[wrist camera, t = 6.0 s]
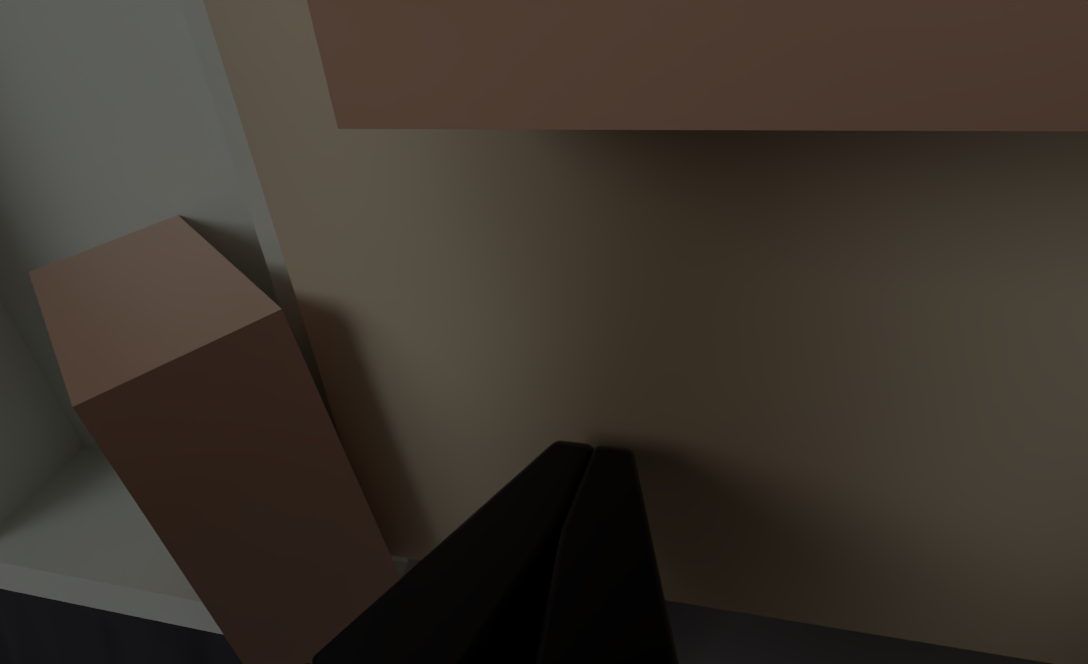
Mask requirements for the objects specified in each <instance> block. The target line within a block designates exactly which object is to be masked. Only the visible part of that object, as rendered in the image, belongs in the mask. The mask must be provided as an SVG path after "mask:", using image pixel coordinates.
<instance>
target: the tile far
mask: <svg viewBox="0 0 1088 664" xmlns="http://www.w3.org/2000/svg"><path fill="white" fill-rule="evenodd" d="M29 275H30V278H31V281H32V284H33V287H34V290H35V293H36V296H37V299H38V302H39V305H40V309H41V312H42V315H43V318H44V321H45V324H46V327H47V330H48V333H49V336H50V339H51V342H52V346H53V349H54V352H55V355H56V358H57V361H58V364H59V367H60V370H61V373H62V376H63V379H64V383H65V386H66V389H67V392H68V395H69V398H70V401H71V404H72V407H73V409H74V410H75V412H76V413H77V415H78V416H79V418H80V419H81V421H82V422H83V424H84V425H85V427H86V428H87V430H88V431H89V433H90V434H91V436H92V437H93V439H94V440H95V442H96V443H97V445H98V446H99V448H100V449H101V451H102V452H103V454H104V455H105V457H106V458H107V460H108V461H109V463H110V464H111V466H112V467H113V469H114V470H115V472H116V473H117V475H118V476H119V478H120V479H121V481H122V482H123V484H124V485H125V487H126V488H127V490H128V491H129V493H130V494H131V496H132V497H133V499H134V500H135V502H136V503H137V505H138V506H139V508H140V509H141V511H142V512H143V514H144V515H145V517H146V518H147V520H148V521H149V523H150V524H151V526H152V527H153V529H154V530H155V532H156V533H157V535H158V536H159V538H160V540H161V541H162V543H163V544H164V546H165V547H166V549H167V550H168V552H169V553H170V555H171V556H172V558H173V559H174V561H175V562H176V564H177V565H178V567H179V568H180V570H181V571H182V573H183V574H184V576H185V577H186V579H187V580H188V582H189V583H190V585H191V586H192V588H193V589H194V591H195V592H196V594H197V595H198V597H199V598H200V600H201V601H202V603H203V604H204V606H205V607H206V609H207V610H208V612H209V613H210V615H211V616H212V618H213V619H214V621H215V622H216V624H217V625H218V627H219V628H220V630H221V631H222V633H223V634H224V636H225V637H226V639H227V640H228V642H229V643H230V645H231V646H232V648H233V649H234V651H235V652H236V654H237V655H238V657H239V658H240V660H241V661H242V663H243V664H305V663H310V664H312V658H313V656H314V655H315V654H317V653H318V652H319V651H320V650H321V649H322V648H323V647H324V646H325V645H327V644H328V643H329V642H330V641H331V640H332V639H333V638H334V637H336V636H337V635H338V634H339V633H340V632H341V631H342V630H343V629H345V628H346V627H347V626H348V625H349V624H350V623H351V622H352V621H354V620H355V619H356V618H357V617H358V616H359V615H360V614H361V613H362V612H364V611H365V610H366V609H367V608H368V607H369V606H370V605H371V604H373V603H374V602H375V601H376V600H377V599H378V598H379V597H380V596H382V595H383V594H384V593H385V592H386V591H387V590H388V589H389V588H391V587H392V586H393V585H394V584H395V583H396V582H397V581H398V580H400V579H401V578H400V576H399V573H398V571H397V569H396V567H395V564H394V562H393V560H392V558H391V555H390V553H389V551H388V549H387V546H386V544H385V542H384V539H383V537H382V535H381V533H380V530H379V528H378V526H377V524H376V521H375V519H374V517H373V514H372V512H371V510H370V508H369V505H368V503H367V501H366V499H365V496H364V494H363V492H362V490H361V487H360V485H359V483H358V480H357V478H356V476H355V474H354V471H353V469H352V467H351V465H350V462H349V460H348V458H347V455H346V453H345V451H344V449H343V446H342V444H341V442H340V440H339V437H338V435H337V433H336V431H335V428H334V426H333V424H332V421H331V419H330V417H329V415H328V412H327V410H326V408H325V406H324V403H323V401H322V399H321V396H320V394H319V392H318V390H317V387H316V385H315V383H314V381H313V378H312V376H311V374H310V371H309V369H308V367H307V365H306V362H305V360H304V358H303V356H302V353H301V351H300V349H299V347H298V344H297V342H296V340H295V337H294V335H293V333H292V331H291V328H290V326H289V324H288V322H287V319H286V317H285V315H284V312H283V310H282V309H281V308H280V307H279V306H278V305H277V304H276V303H275V302H274V301H273V300H271V299H270V298H269V297H268V296H267V295H266V294H265V293H264V292H263V291H262V290H260V289H259V288H258V287H257V286H256V285H255V284H254V283H253V282H252V281H250V280H249V279H248V278H247V277H246V276H245V275H244V274H243V273H242V272H240V271H239V270H238V269H237V268H236V267H235V266H234V265H233V264H232V263H231V262H229V261H228V260H227V259H226V258H225V257H224V256H223V255H222V254H221V253H219V252H218V251H217V250H216V249H215V248H214V247H213V246H212V245H211V244H209V243H208V242H207V241H206V240H205V239H204V238H203V237H202V236H201V235H200V234H198V233H197V232H196V231H195V230H194V229H193V228H192V227H191V226H190V225H188V224H187V223H186V222H185V221H184V220H183V219H182V218H181V217H180V216H178V215H176V216H173V217H171V218H168V219H166V220H163V221H161V222H158V223H155V224H153V225H150V226H148V227H145V228H142V229H140V230H137V231H135V232H132V233H129V234H127V235H124V236H122V237H119V238H117V239H114V240H111V241H109V242H106V243H104V244H101V245H98V246H96V247H93V248H91V249H88V250H85V251H83V252H80V253H78V254H75V255H72V256H70V257H67V258H65V259H62V260H60V261H57V262H54V263H52V264H49V265H47V266H44V267H41V268H39V269H36V270H34V271H31V272H29Z"/></svg>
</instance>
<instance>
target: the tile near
mask: <svg viewBox="0 0 1088 664" xmlns="http://www.w3.org/2000/svg"><path fill="white" fill-rule="evenodd" d="M307 3H308V7H309V11H310V15H311V19H312V24H313V28H314V32H315V36H316V40H317V44H318V48H319V52H320V57H321V61H322V65H323V69H324V73H325V77H326V81H327V85H328V90H329V94H330V98H331V102H332V106H333V110H334V114H335V119H336V123H337V127H338V129H510V130H806V131H1088V0H307Z"/></svg>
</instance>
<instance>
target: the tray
mask: <svg viewBox="0 0 1088 664" xmlns="http://www.w3.org/2000/svg"><path fill="white" fill-rule="evenodd" d="M176 215H178V216H180V217H181V218H182V219H183V220H184V221H185V222H186V223H187V224H188V225H190V226H191V227H192V228H193V229H194V230H195V231H196V232H197V233H198V234H200V235H201V236H202V237H203V238H204V239H205V240H206V241H207V242H208V243H209V244H211V245H212V246H213V247H214V248H215V249H216V250H217V251H218V252H219V253H221V254H222V255H223V256H224V257H225V258H226V259H227V260H228V261H229V262H231V263H232V264H233V265H234V266H235V267H236V268H237V269H238V270H239V271H240V272H242V273H243V274H244V275H245V276H246V277H247V278H248V279H249V280H250V281H252V282H253V283H254V284H255V285H256V286H257V287H258V288H259V289H260V290H262V291H263V292H264V293H265V294H266V295H267V296H268V297H269V298H270V299H271V300H273V301H274V302H275V303H276V304H277V305H278V306H279V307H280V308H281V309H282V310H283V312H284V315H285V317H286V319H287V322H288V324H289V326H290V328H291V331H292V333H293V335H294V337H295V340H296V342H297V344H298V347H299V349H300V351H301V353H302V356H303V358H304V360H305V362H306V365H307V367H308V369H309V371H310V374H311V376H312V378H313V381H314V383H315V385H316V387H317V390H318V392H319V394H320V396H321V399H322V401H323V403H324V406H325V408H326V410H327V412H328V415H329V417H330V419H331V421H332V424H333V426H334V428H335V431H336V433H337V435H338V437H339V440H340V442H341V439H340V436H339V433H338V430H337V426H336V423H335V420H334V417H333V414H332V410H331V407H330V404H329V401H328V398H327V395H326V391H325V388H324V385H323V382H322V379H321V375H320V372H319V369H318V366H317V363H316V359H315V356H314V353H313V350H312V347H311V343H310V340H309V337H308V334H307V331H306V327H305V324H304V321H303V318H302V315H301V311H300V308H299V305H298V302H297V299H296V296H295V292H294V289H293V286H292V283H291V280H290V276H289V273H288V270H287V267H286V264H285V260H284V257H283V254H282V251H281V248H280V244H279V241H278V238H277V235H276V232H275V228H274V225H273V222H272V219H271V216H270V213H269V209H268V206H267V203H266V200H265V197H264V193H263V190H262V187H261V184H260V181H259V177H258V174H257V171H256V168H255V165H254V161H253V158H252V155H251V152H250V149H249V145H248V142H247V139H246V136H245V133H244V130H243V126H242V123H241V120H240V117H239V114H238V110H237V107H236V104H235V101H234V98H233V94H232V91H231V88H230V85H229V82H228V78H227V75H226V72H225V69H224V66H223V62H222V59H221V56H220V53H219V50H218V46H217V43H216V40H215V37H214V34H213V31H212V27H211V24H210V21H209V18H208V15H207V11H206V8H205V5H204V2H203V0H0V588H1V589H6V590H10V591H15V592H20V593H25V594H30V595H35V596H39V597H44V598H49V599H54V600H59V601H64V602H68V603H73V604H78V605H83V606H88V607H93V608H97V609H102V610H107V611H112V612H117V613H122V614H127V615H131V616H136V617H141V618H146V619H151V620H156V621H160V622H165V623H170V624H175V625H180V626H185V627H189V628H194V629H199V630H204V631H209V632H214V633H219V634H223V633H222V631H221V630H220V628H219V627H218V625H217V624H216V622H215V621H214V619H213V618H212V616H211V615H210V613H209V612H208V610H207V609H206V607H205V606H204V604H203V603H202V601H201V600H200V598H199V597H198V595H197V594H196V592H195V591H194V589H193V588H192V586H191V585H190V583H189V582H188V580H187V579H186V577H185V576H184V574H183V573H182V571H181V570H180V568H179V567H178V565H177V564H176V562H175V561H174V559H173V558H172V556H171V555H170V553H169V552H168V550H167V549H166V547H165V546H164V544H163V543H162V541H161V540H160V538H159V536H158V535H157V533H156V532H155V530H154V529H153V527H152V526H151V524H150V523H149V521H148V520H147V518H146V517H145V515H144V514H143V512H142V511H141V509H140V508H139V506H138V505H137V503H136V502H135V500H134V499H133V497H132V496H131V494H130V493H129V491H128V490H127V488H126V487H125V485H124V484H123V482H122V481H121V479H120V478H119V476H118V475H117V473H116V472H115V470H114V469H113V467H112V466H111V464H110V463H109V461H108V460H107V458H106V457H105V455H104V454H103V452H102V451H101V449H100V448H99V446H98V445H97V443H96V442H95V440H94V439H93V437H92V436H91V434H90V433H89V431H88V430H87V428H86V427H85V425H84V424H83V422H82V421H81V419H80V418H79V416H78V415H77V413H76V412H75V410H74V409H73V407H72V404H71V401H70V398H69V395H68V392H67V389H66V386H65V383H64V379H63V376H62V373H61V370H60V367H59V364H58V361H57V358H56V355H55V352H54V349H53V346H52V342H51V339H50V336H49V333H48V330H47V327H46V324H45V321H44V318H43V315H42V312H41V309H40V305H39V302H38V299H37V296H36V293H35V290H34V287H33V284H32V281H31V278H30V275H29V272H31V271H34V270H36V269H39V268H41V267H44V266H47V265H49V264H52V263H54V262H57V261H60V260H62V259H65V258H67V257H70V256H72V255H75V254H78V253H80V252H83V251H85V250H88V249H91V248H93V247H96V246H98V245H101V244H104V243H106V242H109V241H111V240H114V239H117V238H119V237H122V236H124V235H127V234H129V233H132V232H135V231H137V230H140V229H142V228H145V227H148V226H150V225H153V224H155V223H158V222H161V221H163V220H166V219H168V218H171V217H173V216H176ZM341 444H342V442H341ZM391 558H392V560H393V562H394V564H395V567H396V569H397V571H398V573H399V576H400V578H402V577H403V576H404V575H405V574H406V573H407V572H408V571H410V570H411V569H412V568H413V567H414V566H415V565H416V564H417V563H419V562H420V561H421V560H417V559H410V558H404V557H398V556H392V555H391ZM223 635H224V634H223Z"/></svg>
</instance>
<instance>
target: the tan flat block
mask: <svg viewBox="0 0 1088 664" xmlns="http://www.w3.org/2000/svg"><path fill="white" fill-rule="evenodd" d="M203 2H204V5H205V8H206V11H207V15H208V18H209V21H210V24H211V27H212V31H213V34H214V37H215V40H216V43H217V46H218V50H219V53H220V56H221V59H222V62H223V66H224V69H225V72H226V75H227V78H228V82H229V85H230V88H231V91H232V94H233V98H234V101H235V104H236V107H237V110H238V114H239V117H240V120H241V123H242V126H243V130H244V133H245V136H246V139H247V142H248V145H249V149H250V152H251V155H252V158H253V161H254V165H255V168H256V171H257V174H258V177H259V181H260V184H261V187H262V190H263V193H264V197H265V200H266V203H267V206H268V209H269V213H270V216H271V219H272V222H273V225H274V228H275V232H276V235H277V238H278V241H279V244H280V248H281V251H282V254H283V257H284V260H285V264H286V267H287V270H288V273H289V276H290V280H291V283H292V286H293V289H294V292H295V296H296V299H297V302H298V305H299V308H300V311H301V315H302V318H303V321H304V324H305V327H306V331H307V334H308V337H309V340H310V343H311V347H312V350H313V353H314V356H315V359H316V363H317V366H318V369H319V372H320V375H321V379H322V382H323V385H324V388H325V391H326V395H327V398H328V401H329V404H330V407H331V410H332V414H333V417H334V420H335V423H336V426H337V430H338V433H339V436H340V439H341V442H342V446H343V449H344V451H345V453H346V455H347V458H348V460H349V462H350V465H351V467H352V469H353V471H354V474H355V476H356V478H357V480H358V483H359V485H360V487H361V490H362V492H363V494H364V496H365V499H366V501H367V503H368V505H369V508H370V510H371V512H372V514H373V517H374V519H375V521H376V524H377V526H378V528H379V530H380V533H381V535H382V537H383V539H384V542H385V544H386V546H387V549H388V551H389V553H390V555H392V556H398V557H404V558H410V559H417V560H422V559H423V558H424V557H425V556H426V555H428V554H429V553H430V552H431V551H432V550H433V549H434V548H435V547H437V546H438V545H439V544H440V543H441V542H442V541H443V540H444V539H445V538H447V537H448V536H449V535H450V534H451V533H452V532H453V531H454V530H456V529H457V528H458V527H459V526H460V525H461V524H462V523H463V522H465V521H466V520H467V519H468V518H469V517H470V516H471V515H472V514H474V513H475V512H476V511H477V510H478V509H479V508H480V507H481V506H482V505H484V504H485V503H486V502H487V501H488V500H489V499H490V498H491V497H493V496H494V495H495V494H496V493H497V492H498V491H499V490H500V489H502V488H503V487H504V486H505V485H506V484H507V483H508V482H509V481H511V480H512V479H513V478H514V477H515V476H516V475H517V474H518V473H519V472H521V471H522V470H523V469H524V468H525V467H526V466H527V465H528V464H530V463H531V462H532V461H533V460H534V459H535V458H536V457H537V456H539V455H540V454H541V453H542V452H543V451H544V450H545V449H546V448H548V447H549V446H550V445H551V444H552V443H554V442H556V441H560V440H562V441H571V442H580V443H588V444H590V445H591V446H592V447H593V448H595V447H596V446H598V445H606V446H615V447H623V448H629V449H631V450H632V451H633V453H634V456H635V460H636V465H637V470H638V474H639V479H640V484H641V489H642V493H643V498H644V503H645V508H646V512H647V517H648V522H649V526H650V531H651V536H652V541H653V545H654V550H655V555H656V560H657V564H658V569H659V574H660V578H661V583H662V588H663V593H664V597H665V600H667V601H673V602H679V603H685V604H691V605H697V606H704V607H710V608H716V609H722V610H728V611H734V612H740V613H746V614H752V615H759V616H765V617H771V618H777V619H783V620H789V621H795V622H801V623H807V624H813V625H820V626H826V627H832V628H838V629H844V630H850V631H856V632H862V633H868V634H875V635H881V636H887V637H893V638H899V639H905V640H911V641H917V642H923V643H930V644H936V645H942V646H948V647H954V648H960V649H966V650H972V651H978V652H984V653H991V654H997V655H1003V656H1009V657H1015V658H1021V659H1027V660H1033V661H1039V662H1046V663H1052V664H1088V131H806V130H510V129H338V127H337V123H336V119H335V114H334V110H333V106H332V102H331V98H330V94H329V90H328V85H327V81H326V77H325V73H324V69H323V65H322V61H321V57H320V52H319V48H318V44H317V40H316V36H315V32H314V28H313V24H312V19H311V15H310V11H309V7H308V3H307V0H203Z"/></svg>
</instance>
